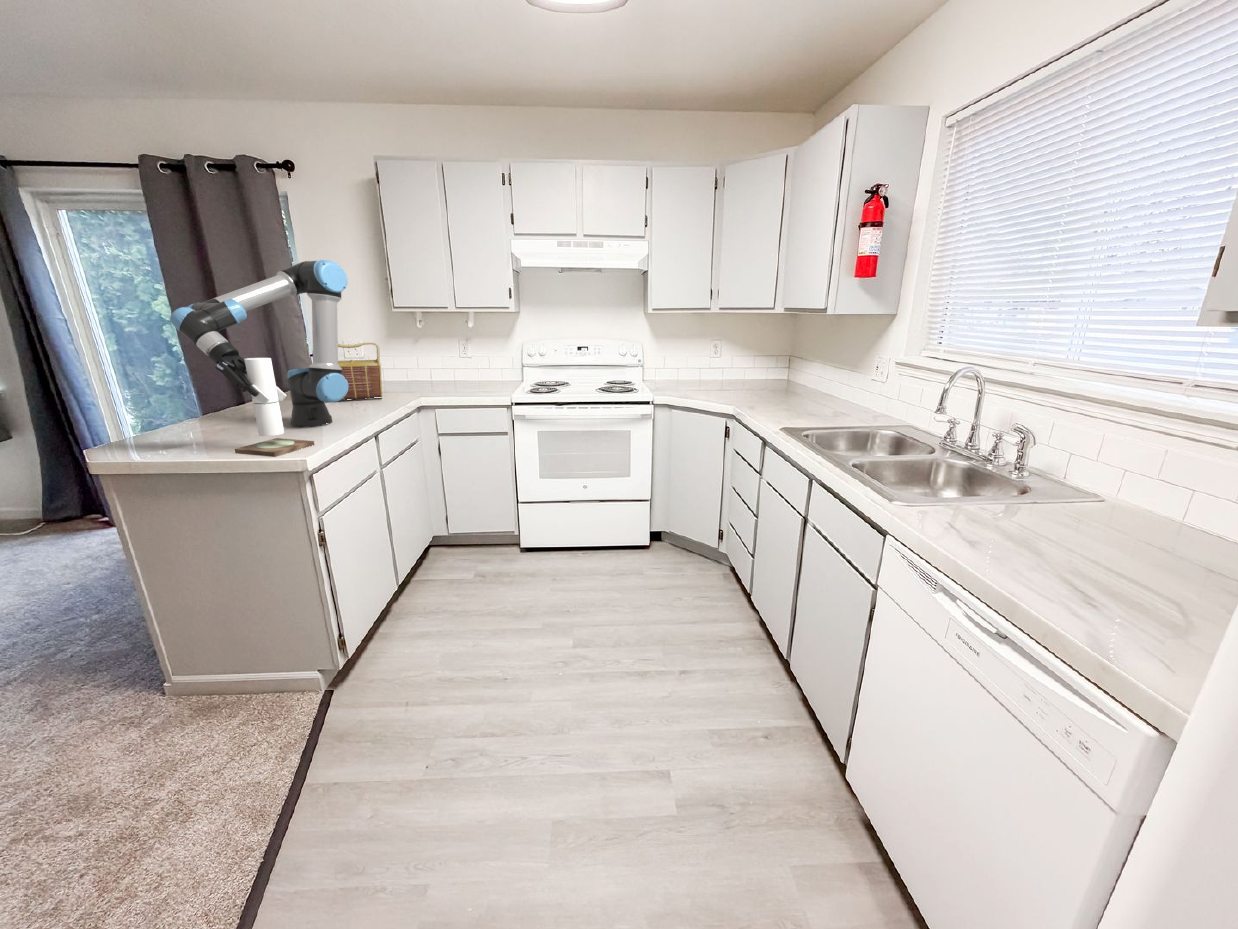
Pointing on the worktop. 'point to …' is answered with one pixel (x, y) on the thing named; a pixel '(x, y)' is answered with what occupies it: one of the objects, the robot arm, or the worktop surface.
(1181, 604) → the worktop surface
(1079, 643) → the worktop surface
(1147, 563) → the worktop surface
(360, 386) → the picnic basket
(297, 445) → the board
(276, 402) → the cylindrical container
